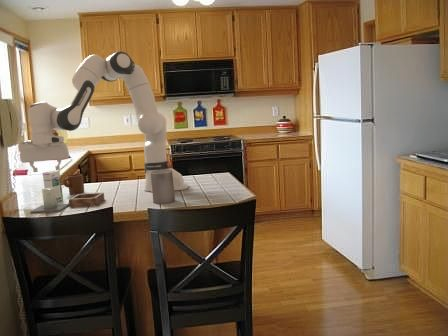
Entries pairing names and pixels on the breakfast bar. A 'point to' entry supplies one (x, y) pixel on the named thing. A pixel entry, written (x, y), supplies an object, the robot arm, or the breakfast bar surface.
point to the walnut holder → (86, 199)
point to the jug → (49, 198)
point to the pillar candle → (162, 186)
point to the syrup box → (53, 183)
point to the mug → (74, 183)
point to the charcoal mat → (57, 209)
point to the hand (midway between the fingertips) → (46, 170)
